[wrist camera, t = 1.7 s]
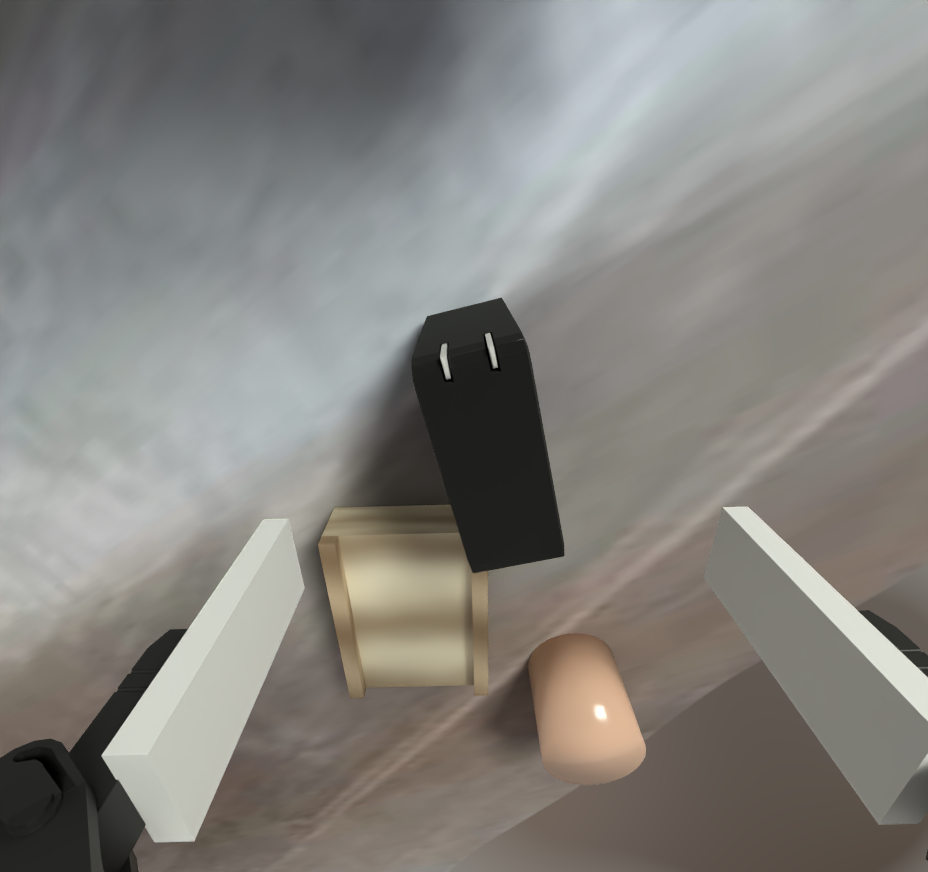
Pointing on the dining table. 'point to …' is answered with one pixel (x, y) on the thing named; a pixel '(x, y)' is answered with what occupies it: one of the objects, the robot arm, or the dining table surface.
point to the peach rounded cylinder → (583, 711)
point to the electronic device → (488, 435)
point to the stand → (405, 598)
